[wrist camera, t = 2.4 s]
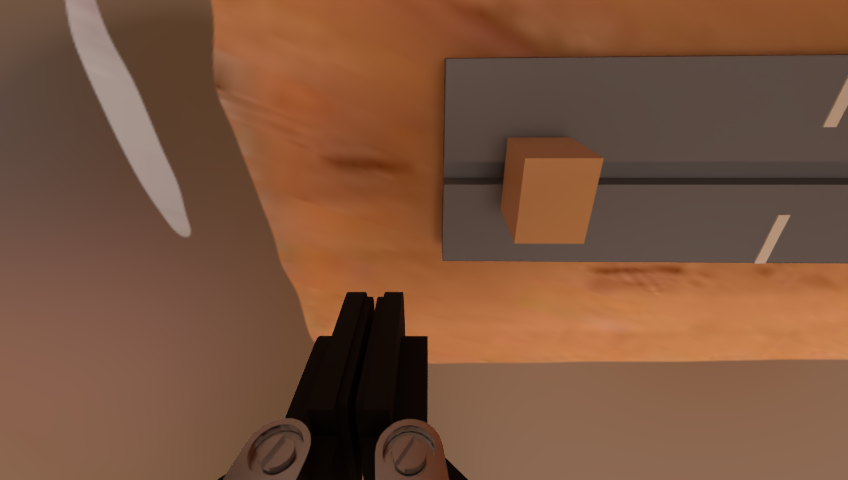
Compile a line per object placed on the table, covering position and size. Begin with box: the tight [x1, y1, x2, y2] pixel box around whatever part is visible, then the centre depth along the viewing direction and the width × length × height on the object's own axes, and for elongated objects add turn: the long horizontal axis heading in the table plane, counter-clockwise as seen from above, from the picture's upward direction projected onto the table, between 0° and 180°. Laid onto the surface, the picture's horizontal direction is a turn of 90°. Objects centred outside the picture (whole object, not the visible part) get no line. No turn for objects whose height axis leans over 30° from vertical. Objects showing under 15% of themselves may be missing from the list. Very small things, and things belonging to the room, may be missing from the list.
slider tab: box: [500, 137, 604, 244], centre depth 22 cm, size 4×5×7 cm
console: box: [442, 54, 848, 264], centre depth 25 cm, size 32×14×3 cm, turn 91°
